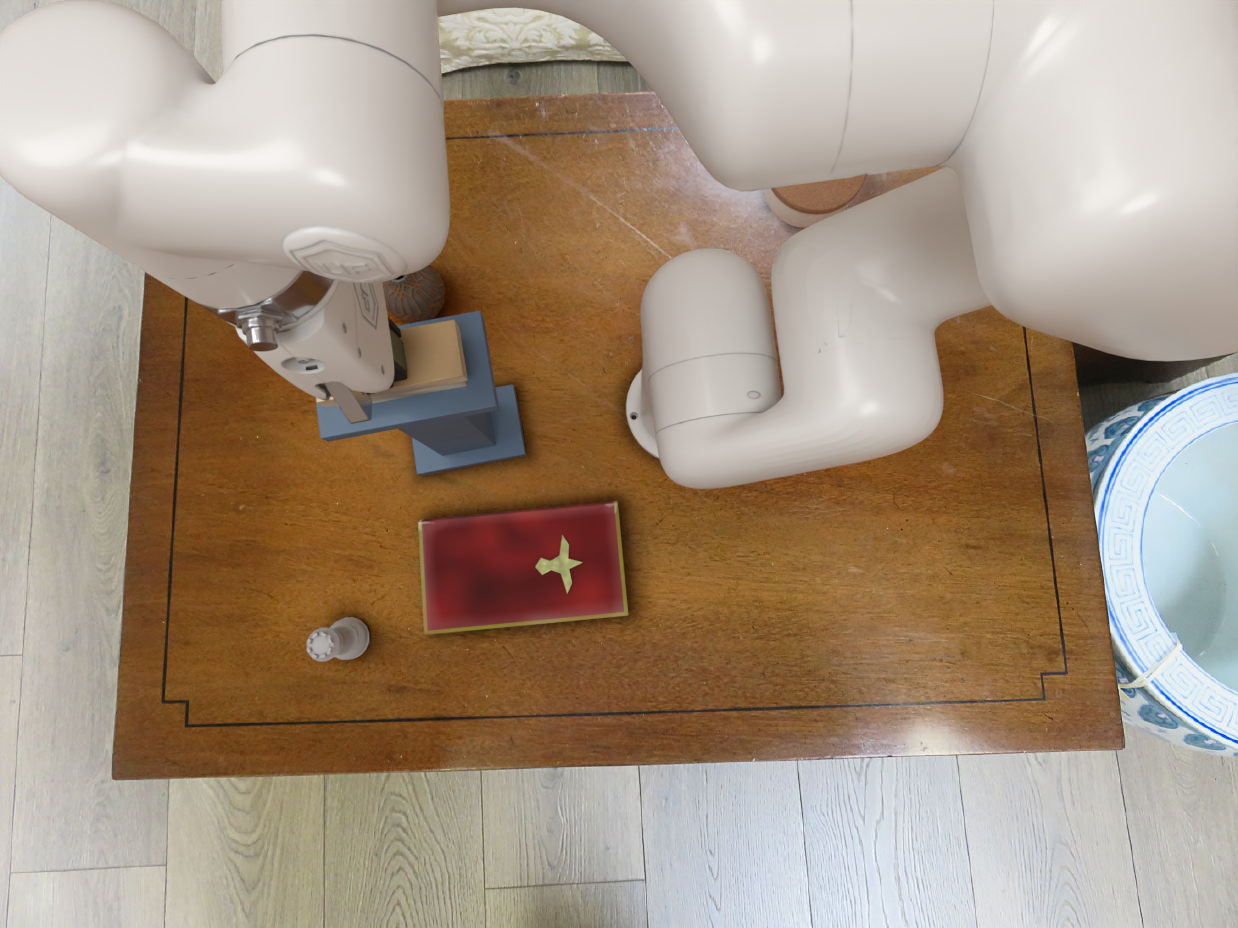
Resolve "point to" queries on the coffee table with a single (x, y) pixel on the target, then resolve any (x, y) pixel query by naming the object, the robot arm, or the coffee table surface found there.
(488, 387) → the stand
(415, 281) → the vase
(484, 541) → the hardcover book
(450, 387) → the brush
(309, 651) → the rook chess piece
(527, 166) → the coffee table surface
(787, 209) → the trinket box
